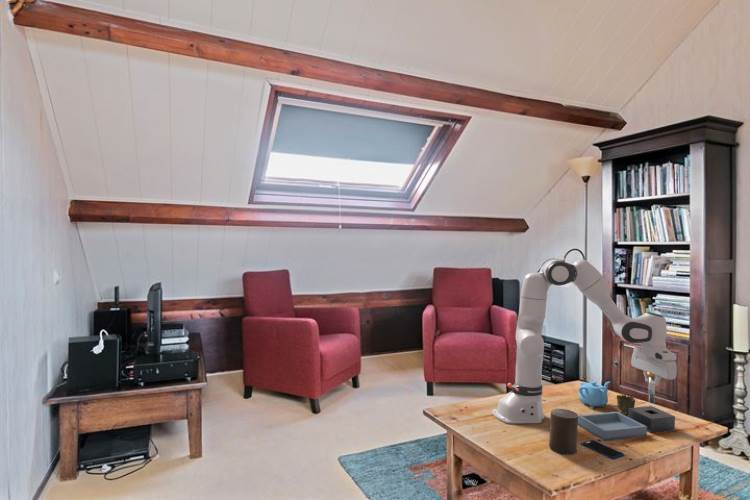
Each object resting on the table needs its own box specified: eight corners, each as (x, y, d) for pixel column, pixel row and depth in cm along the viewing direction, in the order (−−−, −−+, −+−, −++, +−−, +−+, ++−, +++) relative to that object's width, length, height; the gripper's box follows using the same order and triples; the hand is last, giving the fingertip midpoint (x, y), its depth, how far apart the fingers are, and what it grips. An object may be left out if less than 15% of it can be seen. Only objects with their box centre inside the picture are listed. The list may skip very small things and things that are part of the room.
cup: (637, 418, 206) (637, 400, 206) (619, 417, 208) (619, 399, 207) (631, 412, 214) (632, 395, 213) (614, 410, 215) (614, 393, 215)
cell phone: (592, 441, 184) (592, 439, 184) (625, 456, 172) (625, 454, 172) (579, 445, 180) (579, 443, 180) (613, 460, 168) (613, 458, 168)
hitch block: (650, 433, 191) (651, 418, 191) (628, 421, 203) (628, 408, 202) (674, 430, 194) (675, 416, 194) (650, 419, 206) (651, 405, 205)
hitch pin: (651, 403, 196) (652, 374, 195) (643, 400, 199) (644, 371, 199) (658, 402, 196) (660, 374, 196) (651, 399, 200) (652, 371, 200)
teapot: (576, 406, 221) (577, 383, 220) (581, 396, 233) (581, 374, 232) (606, 412, 214) (606, 389, 213) (609, 401, 226) (610, 379, 225)
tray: (604, 441, 183) (604, 431, 183) (577, 424, 199) (577, 415, 199) (646, 436, 188) (646, 426, 188) (616, 420, 204) (617, 411, 203)
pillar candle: (563, 456, 170) (564, 416, 169) (543, 445, 179) (545, 406, 178) (582, 452, 174) (584, 412, 173) (562, 441, 183) (564, 403, 182)
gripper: (628, 345, 206) (626, 376, 207) (667, 357, 187) (665, 392, 187) (640, 345, 208) (638, 375, 208) (680, 357, 188) (678, 391, 189)
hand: (651, 383), depth 198 cm, fingers closed on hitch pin, 2 cm apart
